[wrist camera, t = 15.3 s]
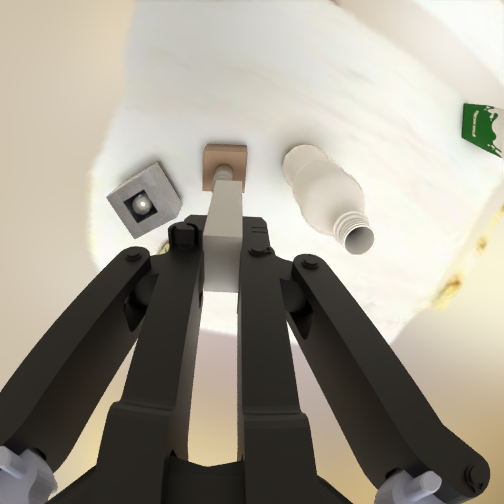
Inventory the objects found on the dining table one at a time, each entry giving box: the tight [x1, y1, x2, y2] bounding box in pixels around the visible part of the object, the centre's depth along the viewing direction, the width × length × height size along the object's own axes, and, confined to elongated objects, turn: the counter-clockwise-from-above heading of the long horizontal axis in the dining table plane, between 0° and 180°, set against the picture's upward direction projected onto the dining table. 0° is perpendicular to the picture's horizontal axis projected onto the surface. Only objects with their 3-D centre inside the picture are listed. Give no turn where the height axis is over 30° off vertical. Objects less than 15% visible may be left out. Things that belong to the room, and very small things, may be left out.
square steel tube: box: [106, 162, 183, 239], centre depth 42 cm, size 8×8×5 cm
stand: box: [203, 144, 247, 193], centre depth 39 cm, size 6×6×12 cm
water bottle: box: [282, 145, 375, 256], centre depth 34 cm, size 7×7×25 cm
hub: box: [132, 190, 154, 214], centre depth 43 cm, size 6×6×6 cm
